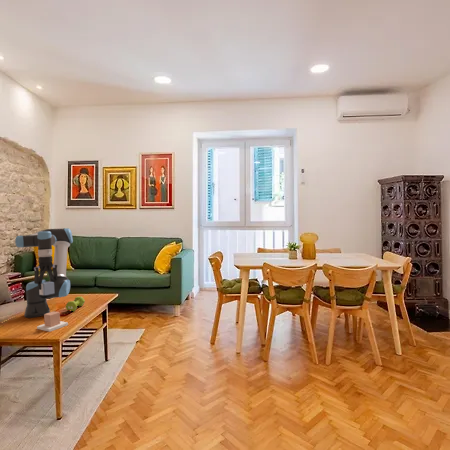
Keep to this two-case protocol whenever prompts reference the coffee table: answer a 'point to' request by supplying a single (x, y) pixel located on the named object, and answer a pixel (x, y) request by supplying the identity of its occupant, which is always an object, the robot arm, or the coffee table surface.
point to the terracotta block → (52, 318)
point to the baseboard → (47, 328)
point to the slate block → (48, 288)
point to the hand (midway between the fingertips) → (46, 293)
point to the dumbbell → (75, 303)
